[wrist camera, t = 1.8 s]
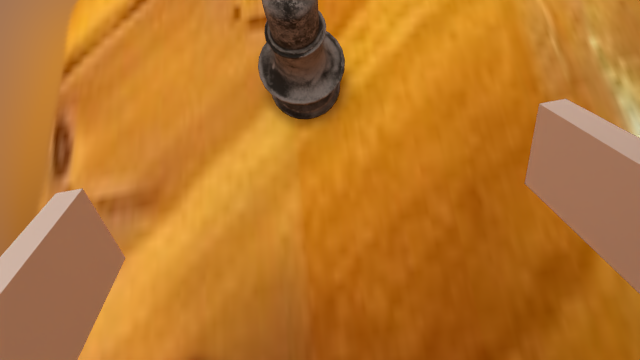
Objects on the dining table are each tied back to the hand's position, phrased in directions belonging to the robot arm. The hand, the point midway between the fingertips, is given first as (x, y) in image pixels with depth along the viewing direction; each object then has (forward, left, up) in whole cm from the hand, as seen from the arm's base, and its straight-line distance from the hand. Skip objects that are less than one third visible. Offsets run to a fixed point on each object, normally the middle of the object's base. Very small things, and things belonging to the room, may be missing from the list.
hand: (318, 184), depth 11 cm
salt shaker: (+9, -6, -16) cm, 19 cm away
